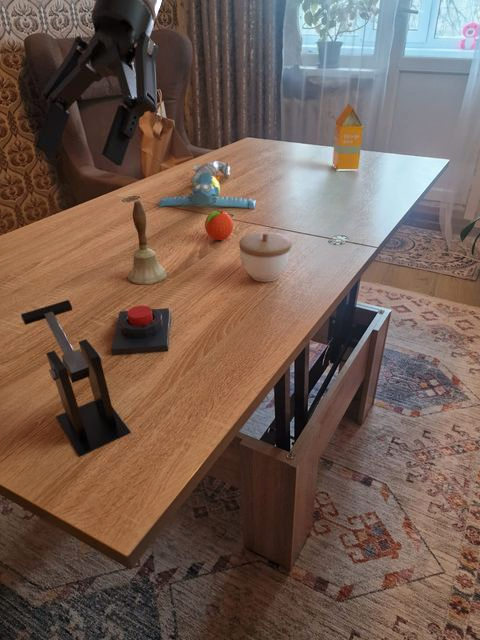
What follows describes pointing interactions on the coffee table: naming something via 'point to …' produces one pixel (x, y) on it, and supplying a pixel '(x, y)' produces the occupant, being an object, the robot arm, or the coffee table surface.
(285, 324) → the coffee table surface
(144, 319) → the button
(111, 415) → the lever bracket
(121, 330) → the control block
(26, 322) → the press lever
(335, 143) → the orange juice
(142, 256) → the hand bell
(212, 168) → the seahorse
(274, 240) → the trinket box
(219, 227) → the clementine
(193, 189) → the blue toy plane
